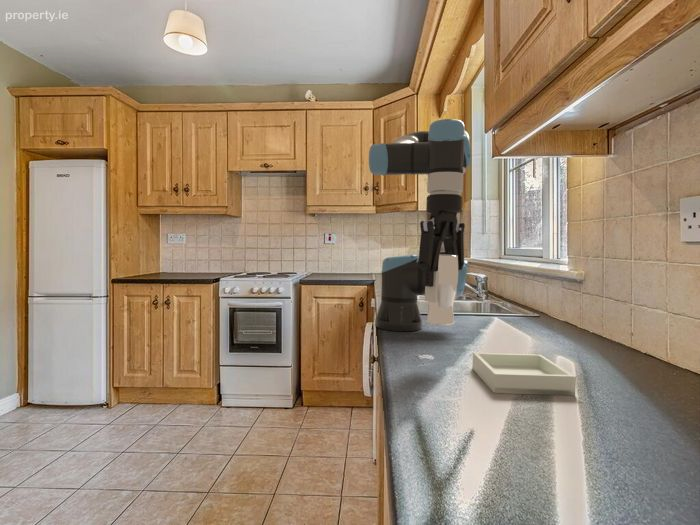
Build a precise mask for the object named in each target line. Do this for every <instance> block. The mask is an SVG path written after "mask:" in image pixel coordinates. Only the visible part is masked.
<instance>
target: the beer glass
mask: <svg viewBox="0 0 700 525" xmlns="http://www.w3.org/2000/svg"><path fill="white" fill-rule="evenodd" d="M431 265H432V264H431ZM435 272H438V296H437V302H436V303H434V302H428V310H427V315H426V319H425V320H426V323H427V324H431V325H435V326H453V325H454V324H455V318H454V317H455V316H454V304H455V303H454V302H455V299H454V298H455V293H456V288H457V283H458V255H448V254H439V258H438V262H437V267H436V270H435Z"/></svg>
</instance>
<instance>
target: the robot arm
mask: <svg viewBox="0 0 700 525" xmlns="http://www.w3.org/2000/svg"><path fill="white" fill-rule="evenodd" d="M428 129H429V130H427V131H425V130H423V131H421V130H420V131H413V132H411V133H408V134H405V135H401V136H399V137H397V138H396V139H395V140H393V142H391V143H384V142H381V143H374V144H372V145H371V146H370V148H369V151H368V167H369V171H370V173H371V175H375V176H377V175H378V176H384V177H385V176H395V175H396V176H397V175H399V176H401V175H427V184H426V185H427V187H426V188H427V189H426V192H427V193H428V194H429V195H427V197H426V205H425V207H426V208H425V210H426V212H427V213H429V214H430V216H429V218H428V220H421V221H420V222H419V226H420V241H419V251H418V252H419V253H418V254H407V255H397V256H389V257H386V258H384V259H383V261H382V266H381V290H380V292H381V297H380V298H381V299H380V305H379V307H378V310H377V313H376V316H375V321H374V323H375V324H374V325H375V327H376V328H378V329H381V330H385V331H391V332H392V331H393V332H414V331H419V330H422V329H423V319H422V316H421V312H420V308H419V305H418V296H423V297H424V301H425V302H428V303H429V302H434V303H436V302H437V296H438V272H435V270H436V267H437V262H438V258H439V254H448V255H458V283H457V288H456V293H455V298H454V300H457V298H459V297H461V296H462V295H463V293H464V290H465V286H466V279H467V273H468V269H469V268H468V266H469V261H468V260H467V259H465V253H464V252H465V244H464V243H465V242H464V239H465V238H464V235H465V234H464V232H465V227H466V225H465V222H460V218H461V216H460V214H461V213H462V211H463V196H462V195H461V194H462V193H463V190H464V174H466V171H467V168H469V167H471V162H472V154H471V142H470V136H469V133H468V131H466V130H465V124H464V122H463V121H462V120H460V119H455V118H443V119H438V120H434V121H433V122H431V124H429V127H428ZM431 264H432V265H431Z"/></svg>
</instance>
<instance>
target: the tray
mask: <svg viewBox="0 0 700 525" xmlns="http://www.w3.org/2000/svg"><path fill="white" fill-rule="evenodd" d="M472 370H473V371H474V372H475V373H476V374H477V375H478V376H479V378H480V379H481V380H482V381H483V383H485V384H486V386H487V387H488V388H489V389H490V390H491V391H492V392H493V393H494V394H511V395H512V394H513V395H514V394H517V395H518V394H519V395H541V396H542V395H544V396H545V395H546V396H547V395H548V396H576V386H577V385H576V384H577V383H576V382H577V376H576V375H574V374H573V373H571V372H569V371H568V370H567V369H565V368H563V367H562V366H560V365H558V364H556V363H555V362H553V361H552V360H550V359H548V358H547V357H545V356H544V355H542V354H533V353H532V354H531V353H530V354H529V353H497V352H495V353H494V352H472Z"/></svg>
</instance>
